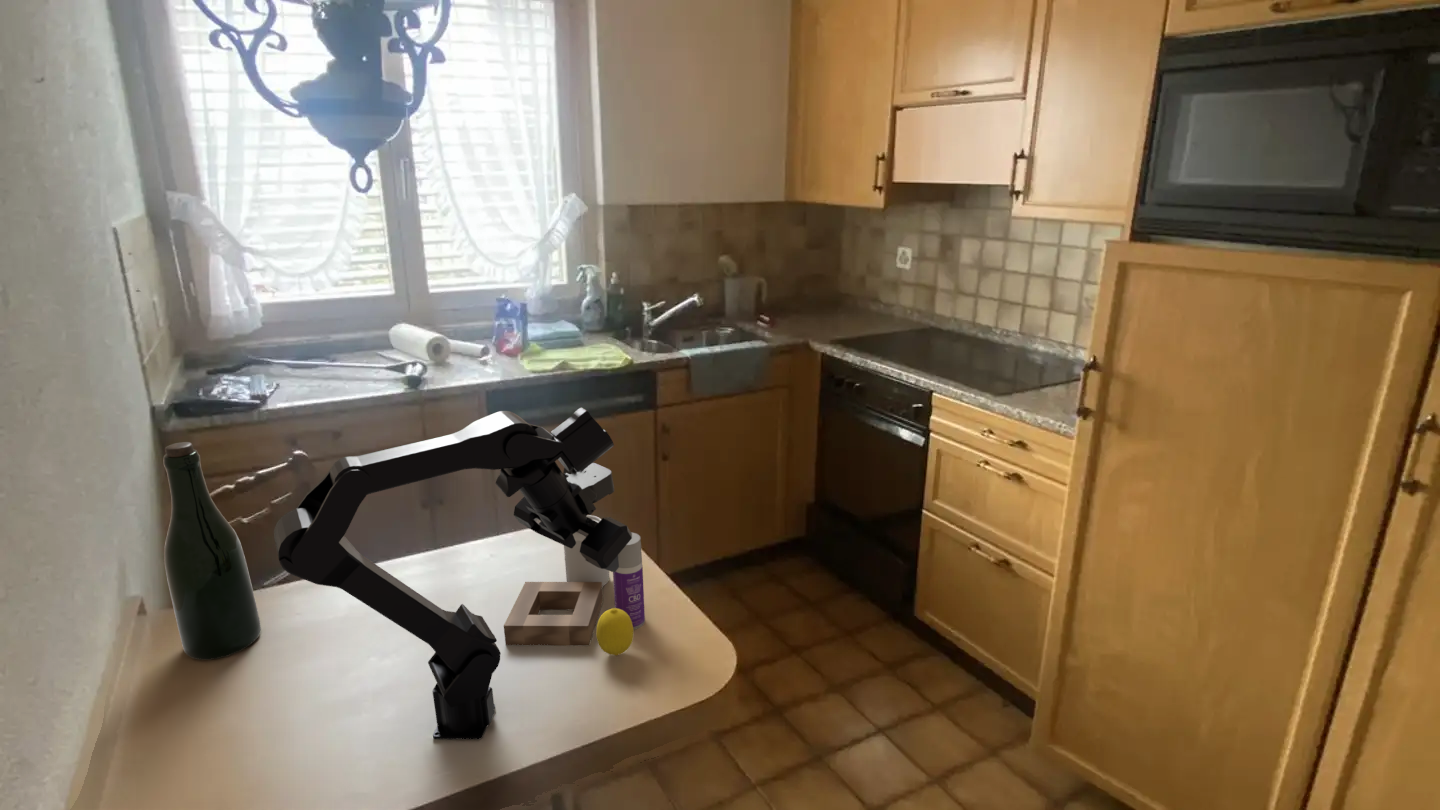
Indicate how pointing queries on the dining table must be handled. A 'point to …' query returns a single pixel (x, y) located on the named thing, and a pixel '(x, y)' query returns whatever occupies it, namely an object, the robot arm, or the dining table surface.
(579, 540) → the can
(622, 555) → the container
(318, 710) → the dining table surface
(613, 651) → the lemon
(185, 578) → the beer bottle
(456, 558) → the dining table surface
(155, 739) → the dining table surface
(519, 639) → the frame
